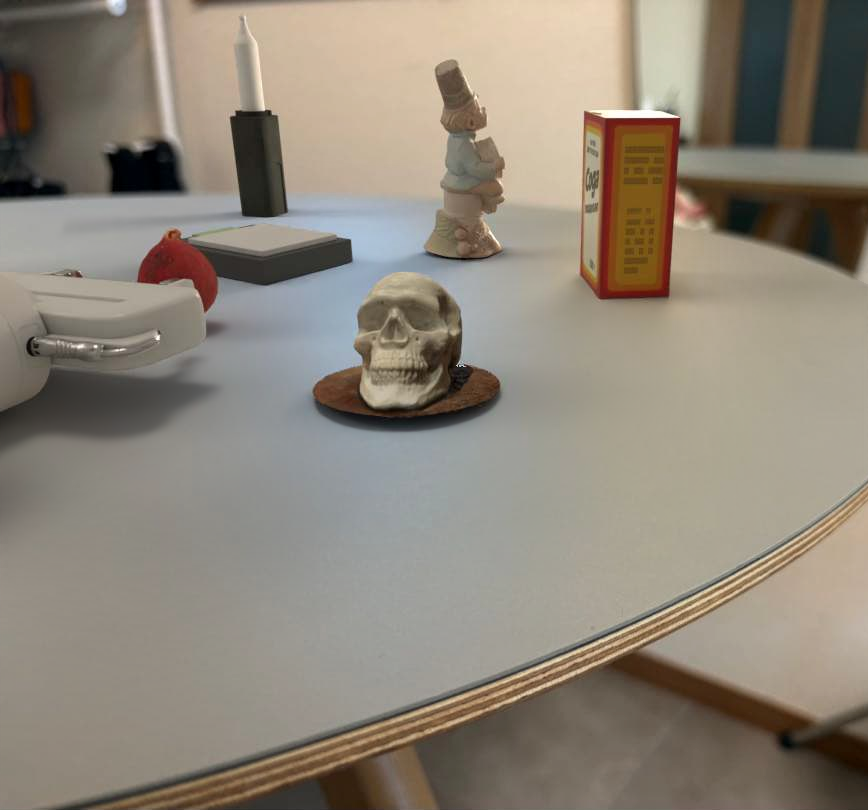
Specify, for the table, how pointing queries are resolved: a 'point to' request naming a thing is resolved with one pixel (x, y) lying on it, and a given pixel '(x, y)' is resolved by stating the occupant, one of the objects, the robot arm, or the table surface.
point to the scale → (270, 252)
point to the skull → (407, 355)
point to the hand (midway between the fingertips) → (129, 284)
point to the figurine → (465, 172)
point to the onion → (179, 266)
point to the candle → (256, 136)
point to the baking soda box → (628, 202)
